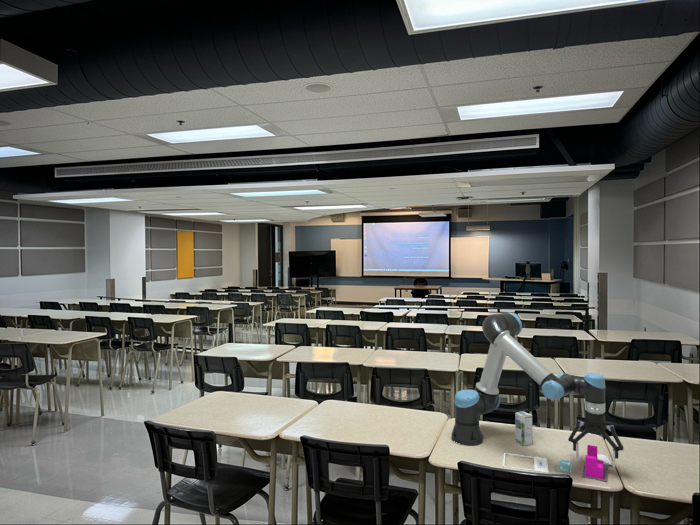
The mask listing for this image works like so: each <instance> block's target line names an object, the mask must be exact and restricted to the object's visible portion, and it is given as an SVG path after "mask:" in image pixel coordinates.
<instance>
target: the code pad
mask: <svg viewBox="0 0 700 525" xmlns="http://www.w3.org/2000/svg"><path fill="white" fill-rule="evenodd" d="M573 464H574V461H573V460H567V459H562V458H560V459H559V463H558V466H557V469H556V472H561V473H565V474H571V471H572V468H573Z"/></svg>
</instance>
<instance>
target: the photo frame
mask: <svg viewBox="0 0 700 525" xmlns="http://www.w3.org/2000/svg"><path fill="white" fill-rule="evenodd" d="M506 455H507V456H512V457H521V458H530V459H533V466H534V469H531V468H524V467H517V466H510V467H511V468H517V469H516V470H518V469H520V470H519V471H525V470H528V471H527V472H534V473H540V472H542V474H547V473H549V466H548V458H546V457H540V456H534V455H533V456H532V455H523V454H517V453H510V452H508V453H507V452H503V460H502V468H504V467H507V466H508V465H505V464H506ZM511 468H510V469H511Z"/></svg>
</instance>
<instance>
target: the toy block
mask: <svg viewBox="0 0 700 525" xmlns="http://www.w3.org/2000/svg"><path fill="white" fill-rule="evenodd" d="M586 446H587V447H586V449H587V450H586V451H587V452H586V454H585V456H584V463H585V476H589V477H594V478H599V479H603V471H604V461H602V460H598V457H597V454H598V446H596V445H592V444H587V445H586Z"/></svg>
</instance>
